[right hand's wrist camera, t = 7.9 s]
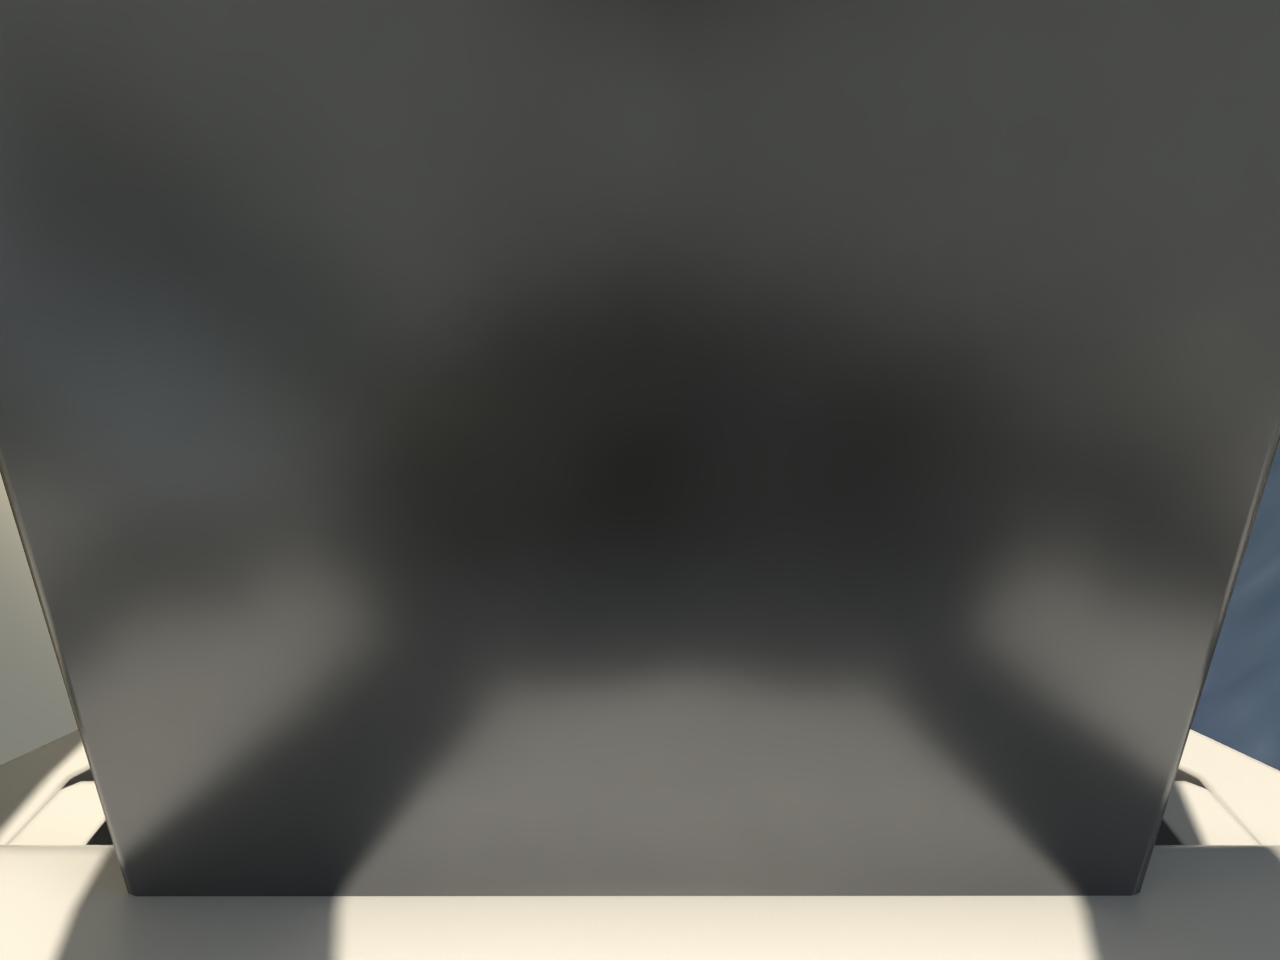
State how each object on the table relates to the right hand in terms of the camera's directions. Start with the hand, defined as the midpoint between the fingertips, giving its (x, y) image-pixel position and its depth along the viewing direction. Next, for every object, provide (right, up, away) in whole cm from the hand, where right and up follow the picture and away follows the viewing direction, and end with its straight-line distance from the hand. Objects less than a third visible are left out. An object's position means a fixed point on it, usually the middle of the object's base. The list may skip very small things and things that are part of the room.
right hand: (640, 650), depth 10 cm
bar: (0, +8, +1) cm, 8 cm away
